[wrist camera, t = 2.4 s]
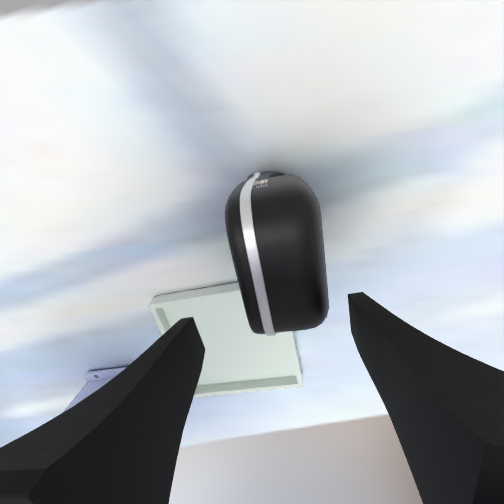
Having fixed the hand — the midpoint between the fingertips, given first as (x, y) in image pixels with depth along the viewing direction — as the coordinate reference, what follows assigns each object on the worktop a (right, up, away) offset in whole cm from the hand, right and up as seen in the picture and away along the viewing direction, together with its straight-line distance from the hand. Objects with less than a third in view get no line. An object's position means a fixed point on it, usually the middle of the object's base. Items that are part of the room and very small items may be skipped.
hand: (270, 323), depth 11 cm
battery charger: (+1, +7, +9) cm, 11 cm away
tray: (-3, -6, +14) cm, 15 cm away
